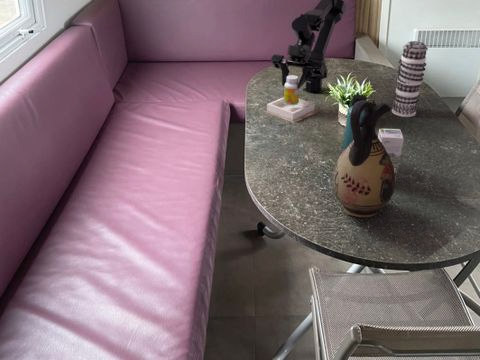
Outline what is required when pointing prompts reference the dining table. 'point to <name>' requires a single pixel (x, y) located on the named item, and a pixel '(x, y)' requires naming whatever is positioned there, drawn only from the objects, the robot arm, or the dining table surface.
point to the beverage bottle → (348, 130)
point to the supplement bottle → (291, 91)
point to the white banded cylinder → (409, 79)
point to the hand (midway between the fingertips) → (290, 86)
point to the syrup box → (392, 145)
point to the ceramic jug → (364, 165)
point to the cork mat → (297, 119)
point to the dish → (290, 109)
